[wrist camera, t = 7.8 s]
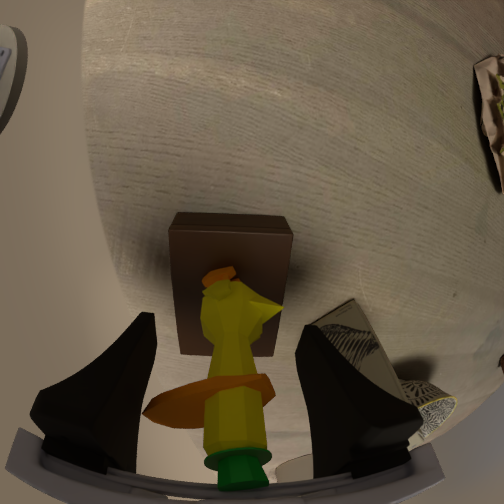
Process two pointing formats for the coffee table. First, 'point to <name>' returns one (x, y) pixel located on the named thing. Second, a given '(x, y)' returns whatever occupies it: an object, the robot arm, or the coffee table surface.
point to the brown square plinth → (225, 255)
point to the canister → (296, 470)
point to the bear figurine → (493, 106)
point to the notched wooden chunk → (502, 363)
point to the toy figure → (226, 386)
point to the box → (364, 351)
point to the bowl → (429, 403)
